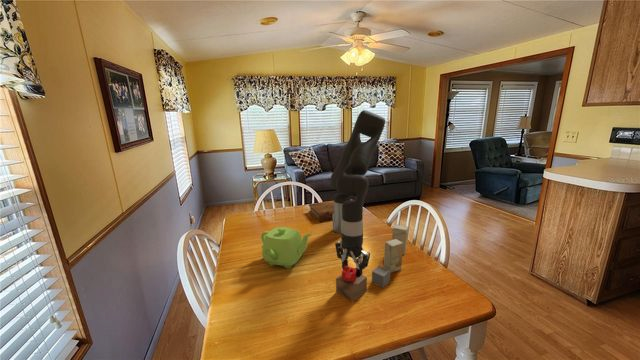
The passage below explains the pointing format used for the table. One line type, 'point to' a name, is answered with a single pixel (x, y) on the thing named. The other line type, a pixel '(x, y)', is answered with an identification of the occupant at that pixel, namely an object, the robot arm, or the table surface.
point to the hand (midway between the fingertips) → (351, 272)
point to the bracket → (347, 275)
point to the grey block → (381, 276)
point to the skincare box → (393, 255)
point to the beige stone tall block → (400, 235)
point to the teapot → (283, 246)
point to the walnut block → (351, 287)
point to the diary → (322, 210)
